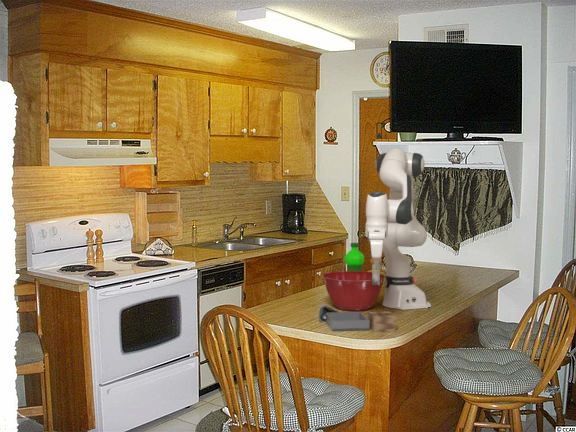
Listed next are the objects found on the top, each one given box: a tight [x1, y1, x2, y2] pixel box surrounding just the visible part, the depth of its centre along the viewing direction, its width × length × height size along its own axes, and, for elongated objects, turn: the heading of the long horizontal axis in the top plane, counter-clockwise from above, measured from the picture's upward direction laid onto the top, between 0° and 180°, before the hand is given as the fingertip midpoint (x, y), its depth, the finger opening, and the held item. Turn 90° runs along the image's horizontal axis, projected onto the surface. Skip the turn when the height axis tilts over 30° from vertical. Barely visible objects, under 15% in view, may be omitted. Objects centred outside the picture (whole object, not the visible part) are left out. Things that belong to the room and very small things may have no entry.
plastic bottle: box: [344, 242, 365, 271], centre depth 332 cm, size 10×10×25 cm
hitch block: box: [367, 311, 397, 333], centre depth 253 cm, size 9×9×6 cm
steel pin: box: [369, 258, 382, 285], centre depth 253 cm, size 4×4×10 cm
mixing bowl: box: [322, 270, 385, 312], centre depth 290 cm, size 28×28×16 cm
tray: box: [325, 311, 370, 332], centre depth 258 cm, size 15×15×4 cm
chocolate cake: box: [318, 303, 339, 323], centre depth 269 cm, size 10×7×12 cm
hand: (376, 266), depth 252 cm, fingers closed on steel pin, 3 cm apart
